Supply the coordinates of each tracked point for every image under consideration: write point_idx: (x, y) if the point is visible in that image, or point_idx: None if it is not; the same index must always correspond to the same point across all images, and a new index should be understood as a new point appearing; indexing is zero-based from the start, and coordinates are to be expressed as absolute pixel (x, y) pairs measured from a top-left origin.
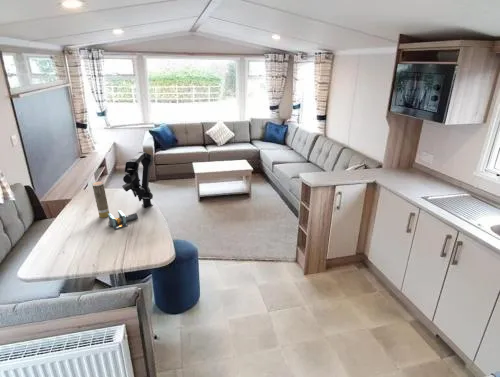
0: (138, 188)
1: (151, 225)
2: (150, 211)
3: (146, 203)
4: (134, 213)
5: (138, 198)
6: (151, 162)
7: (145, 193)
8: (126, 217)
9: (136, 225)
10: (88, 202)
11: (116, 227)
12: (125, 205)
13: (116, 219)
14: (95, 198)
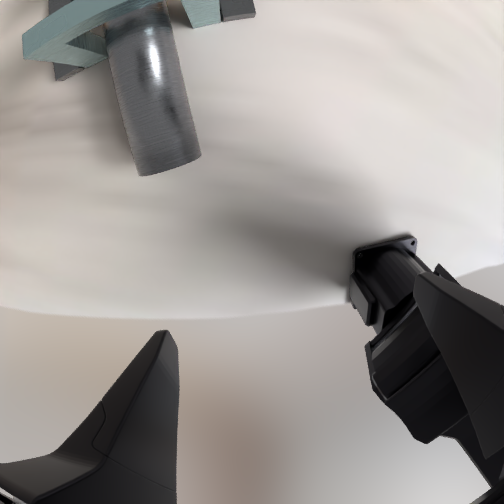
0: None
1: (37, 256)
2: (267, 281)
3: (369, 289)
4: (169, 149)
5: (138, 375)
6: None
7: (402, 384)
8: (113, 59)
9: (51, 151)
10: None
11: (60, 2)
12: (472, 127)
13: None
14: None
